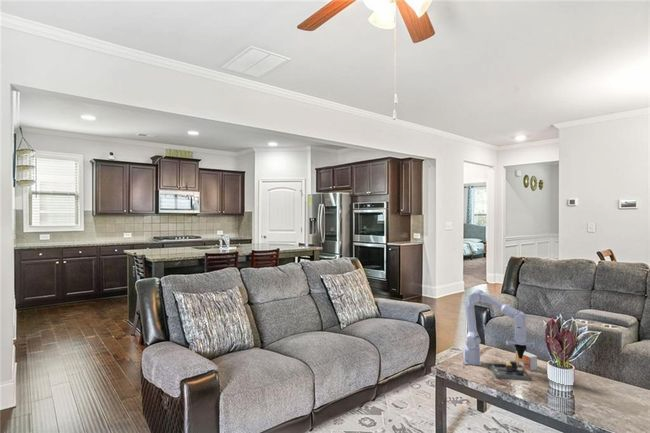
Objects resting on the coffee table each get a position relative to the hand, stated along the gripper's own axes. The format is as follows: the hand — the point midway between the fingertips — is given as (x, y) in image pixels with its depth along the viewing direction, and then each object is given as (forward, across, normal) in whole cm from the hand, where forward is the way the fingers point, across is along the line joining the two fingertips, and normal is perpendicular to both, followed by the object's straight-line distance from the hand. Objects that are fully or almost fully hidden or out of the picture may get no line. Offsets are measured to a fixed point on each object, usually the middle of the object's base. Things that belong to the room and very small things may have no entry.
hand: (520, 357), depth 211 cm
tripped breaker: (+8, -6, 0) cm, 10 cm away
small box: (+5, +4, +15) cm, 16 cm away
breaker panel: (+9, -6, 0) cm, 11 cm away
